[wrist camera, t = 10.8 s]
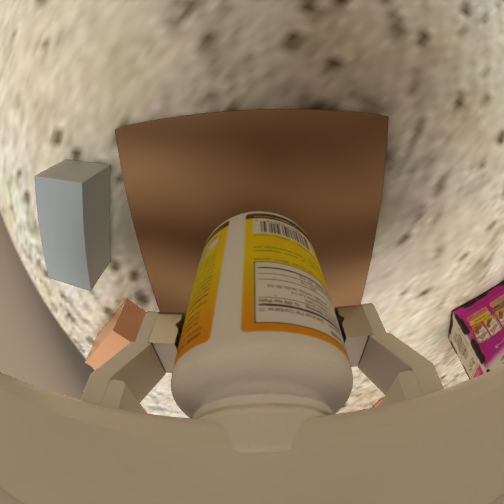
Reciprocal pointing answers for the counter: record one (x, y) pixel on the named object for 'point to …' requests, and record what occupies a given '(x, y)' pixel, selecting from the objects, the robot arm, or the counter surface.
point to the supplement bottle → (260, 336)
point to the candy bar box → (480, 332)
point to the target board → (255, 188)
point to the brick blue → (74, 221)
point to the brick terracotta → (116, 334)
